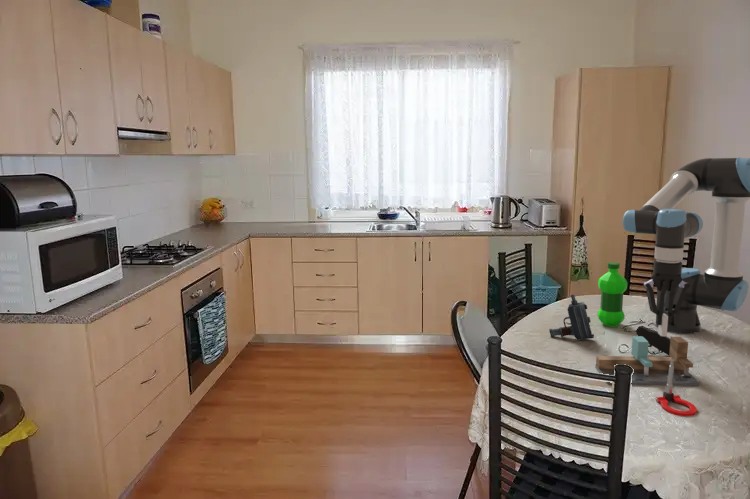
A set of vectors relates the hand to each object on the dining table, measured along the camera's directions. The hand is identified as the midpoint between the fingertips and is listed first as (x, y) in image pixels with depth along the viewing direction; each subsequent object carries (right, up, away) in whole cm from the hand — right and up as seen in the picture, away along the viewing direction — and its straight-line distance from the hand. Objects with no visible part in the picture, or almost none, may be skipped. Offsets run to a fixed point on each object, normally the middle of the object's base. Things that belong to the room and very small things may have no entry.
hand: (662, 334), depth 163 cm
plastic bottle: (+5, -4, +47) cm, 47 cm away
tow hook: (-7, -17, -20) cm, 27 cm away
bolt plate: (-6, -13, -1) cm, 14 cm away
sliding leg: (-6, -11, 0) cm, 13 cm away
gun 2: (+7, -10, +16) cm, 20 cm away
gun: (-16, -7, +33) cm, 37 cm away
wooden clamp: (-6, -11, 0) cm, 13 cm away
